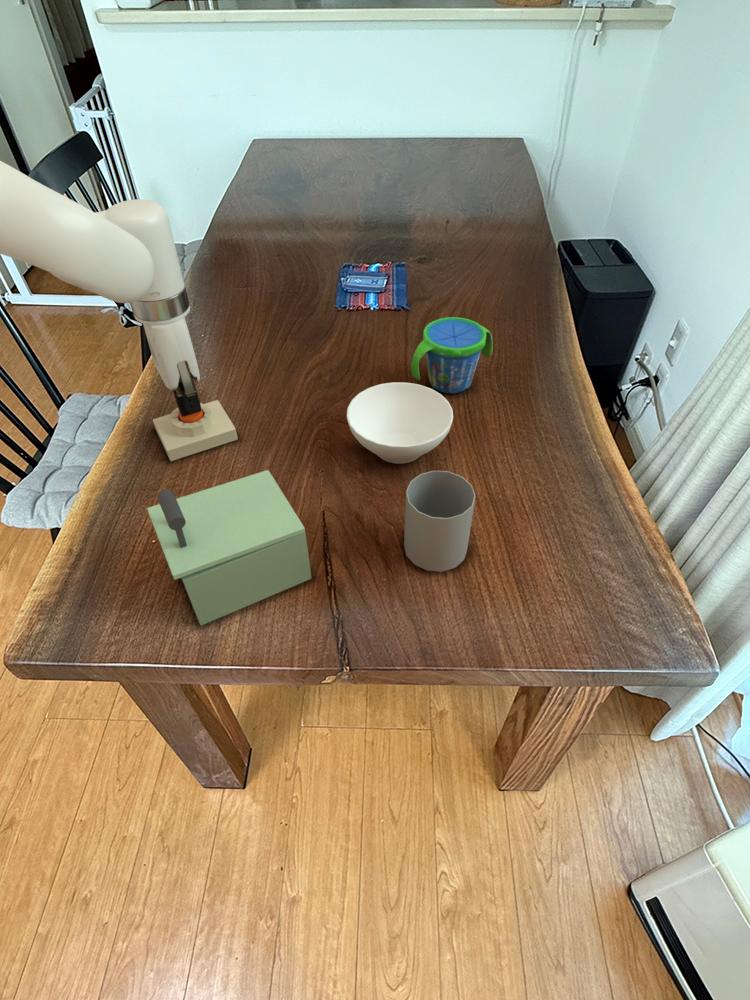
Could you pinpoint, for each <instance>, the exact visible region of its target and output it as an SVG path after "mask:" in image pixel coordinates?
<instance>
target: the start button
mask: <svg viewBox="0 0 750 1000" xmlns="http://www.w3.org/2000/svg"><path fill="white" fill-rule="evenodd" d="M179 417H180V421H181V422H183V423H194V422H197V421H199V420H200V419H202V418H203V417H204V416H203V412H202V410H201V411H200V412H197V413H194V414H190V415H187V416H182V415H181V413H180V411H179Z"/></svg>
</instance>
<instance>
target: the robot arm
mask: <svg viewBox="0 0 750 1000" xmlns="http://www.w3.org/2000/svg"><path fill="white" fill-rule="evenodd" d="M172 231H173V230H172V227H171V224H170V220H169V216H168V213H167V212H166V210H165V208H164V207H163V206H162V205H161V204H160V203H158V202H157V201H155V200H150V199H141V198H139V199H127V200H123V201H120V202H117V203H114V204H113V205H111V206H110V207H108V208H107V209H104V210H101V211H96V212H95V211H92V210H91V209H89V208H87V207H86V206H83V205H82V204H80V203H78V202H76V201H75V200H73V199H70V198H69V197H67V196H65V195H64V194H61V193H60V192H58V191H55V190H54V189H51V188H50V187H48V186H47V185H44V184H42V183H41V182H39V181H36V180H35V179H33V178H31V177H30V176H28V175H26V174H25V173H23V172H22V171H20V170H18V169H16V168H15V167H13V166H11V165H10V164H8V163H6V162H4V161H3V160H2V161H1V160H0V255H3V256H5V257H8V258H12V259H15V260H18V261H20V262H22V263H23V262H24V263H26V264H29V265H31V266H33V267H36V268H39V269H40V270H43V271H46V272H48V273H49V274H51V275H52V276H54V277H55V278H57V279H59V280H60V281H63V282H64V283H67V284H69V285H72V286H74V287H77V288H79V289H81V290H85V291H88V292H90V293H93V294H95V295H97V296H100V297H102V298H105V299H107V300H110V301H112V302H115V303H119V304H129V305H130V309H131V311H132V315H133V317H134V319H135V320H136V321H137V322H138V323H140V324H142V325H143V328H144V333H145V337H146V339H147V343H148V346H149V351H150V354H151V357H152V361H153V364H154V366H155V369H156V370H157V373H158V374H159V377H160V378H161V380H162V381H163V383H164V385H165V387H166V389H168V390H170V391H172V392H173V395H174V399H175V403H176V405H177V408H178V409H179V411H180V413H181V415H182V416H187V415H190V414H194V413H197V412H200V411H201V410H202V409H201V405H200V403H201V401H200V397H199V395H198V394H199V393H198V390H197V388H196V384H195V382H196V383H199V382H200V380H201V374H200V369H199V366H198V361H197V357H196V352H195V349H194V346H193V341H192V338H191V335H190V330H189V327H188V324H187V321H186V316H188V314H189V313H190V311H191V304H190V301H189V297H188V293H187V288H186V285H185V280H184V277H183V273H182V268H181V263H180V259H179V256H178V252H177V248H176V244H175V240H174V236H173V232H172Z"/></svg>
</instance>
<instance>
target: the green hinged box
mask: <svg viewBox="0 0 750 1000" xmlns="http://www.w3.org/2000/svg"><path fill="white" fill-rule="evenodd" d="M311 571H312V570H311V564H310V556H309V551H308V542H307V535H306V532H305V533H302V534H299V535H297V536H294V537H291V538H288V539H286V540H283V541H280V542H278V543H275V544H272V545H269V546H267V547H264V548H261V549H258V550H256V551H253V552H250V553H247V554H245V555H242V556H239V557H236V558H234V559H231V560H228V561H225V562H223V563H220V564H217V565H214V566H212V567H209V568H206V569H203V570H201V571H198V572H195V573H192V574H190V575H187V576H184V577H181V578H180V579H181V581H182V583H183V585H184V589H185V591H186V593H187V596H188V598H189V601H190V603H191V606H192V609H193V611H194V614H195V616H196V618H197V621H198V623H199V626H200V627H201V626H204V625H207V624H209V623H212V622H213V621H215V620H218V619H220V618H222V617H225V616H228V615H230V614H232V613H235V612H236V611H240V610H241V609H243V608H247V607H248V606H250V605H253V604H256V603H258V602H260V601H262V600H265V599H267V598H269V597H272V596H274V595H276V594H279V593H282V592H283V591H286V590H288V589H291V588H293V587H296V586H298V585H300V584H302V583H305V582H307V581H310V580H312V572H311Z"/></svg>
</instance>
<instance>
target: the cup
mask: <svg viewBox="0 0 750 1000" xmlns="http://www.w3.org/2000/svg"><path fill="white" fill-rule="evenodd" d="M476 497H477V495H476V493H475V489H474V487H473V484H471V483H470V482H469V481H468V480H467V479H466V478H465V477H464V476H462V475H459V474H457V473H454V472H451V471H447V470H431V471H427V472H422V473H420V474H418V475H417V476H416V477H414V478H413V479H412V480H410V481H409V484H408V486H407V488H406V491H405V508H404V509H405V511H404V514H405V515H404V535H403V538H404V539H403V546H404V547H403V548H404V552H405V555H406V557H407V558H408V559H409V561H410V562H412V564H413V565H414V566H416V567H418V568H421V569H423V570H425V571H427V572H441V573H442V572H443V573H444V572H446V571H449V570H453V569H455V568H457V567H458V566H459V565H460V564H461V563H462V562H463V561H464V560H465V559H466V555H467V552H468V547H469V541H470V533H471V527H472V521H473V515H474V509H475V503H476Z"/></svg>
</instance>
